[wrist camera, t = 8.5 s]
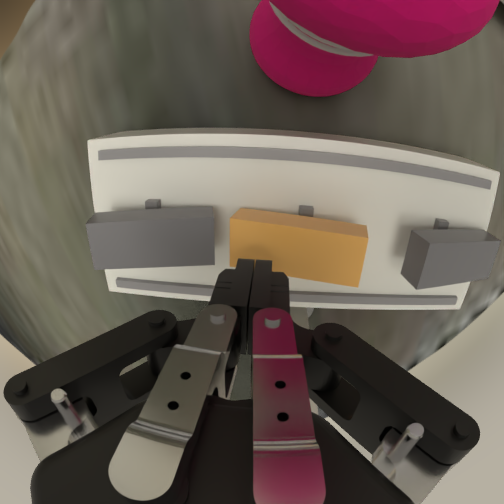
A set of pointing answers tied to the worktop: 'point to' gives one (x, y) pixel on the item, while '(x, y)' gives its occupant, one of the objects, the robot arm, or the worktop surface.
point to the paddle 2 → (448, 257)
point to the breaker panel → (294, 202)
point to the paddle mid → (300, 245)
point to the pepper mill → (354, 37)
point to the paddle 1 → (152, 238)
